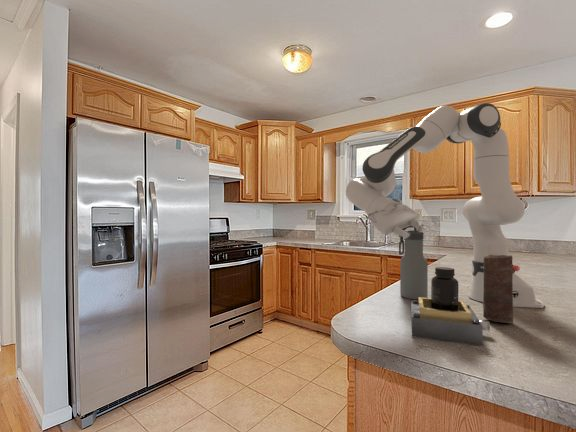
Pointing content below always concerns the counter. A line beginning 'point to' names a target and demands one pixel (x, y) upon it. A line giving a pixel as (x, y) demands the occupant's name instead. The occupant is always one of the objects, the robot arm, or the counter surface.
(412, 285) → the water bottle
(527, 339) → the counter surface
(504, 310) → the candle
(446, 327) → the grey and tan box
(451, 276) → the supplement bottle
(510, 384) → the counter surface
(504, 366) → the counter surface
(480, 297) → the robot arm
